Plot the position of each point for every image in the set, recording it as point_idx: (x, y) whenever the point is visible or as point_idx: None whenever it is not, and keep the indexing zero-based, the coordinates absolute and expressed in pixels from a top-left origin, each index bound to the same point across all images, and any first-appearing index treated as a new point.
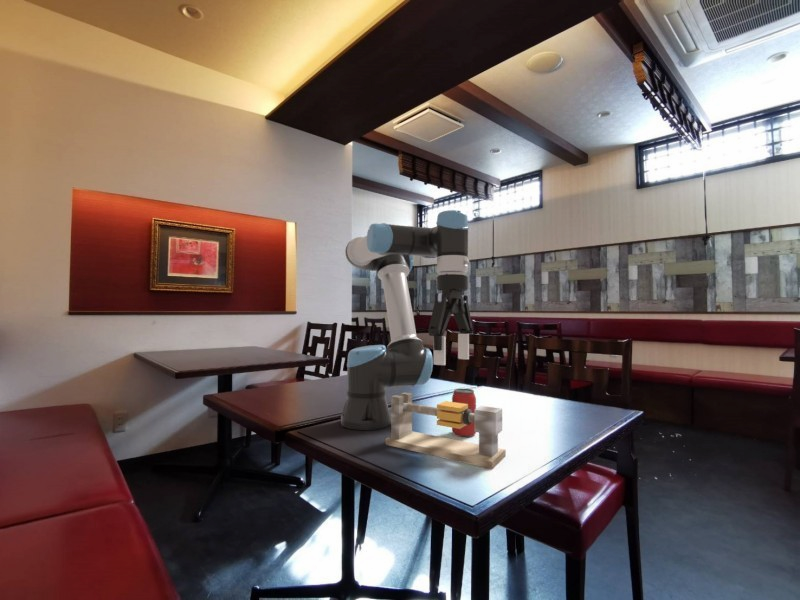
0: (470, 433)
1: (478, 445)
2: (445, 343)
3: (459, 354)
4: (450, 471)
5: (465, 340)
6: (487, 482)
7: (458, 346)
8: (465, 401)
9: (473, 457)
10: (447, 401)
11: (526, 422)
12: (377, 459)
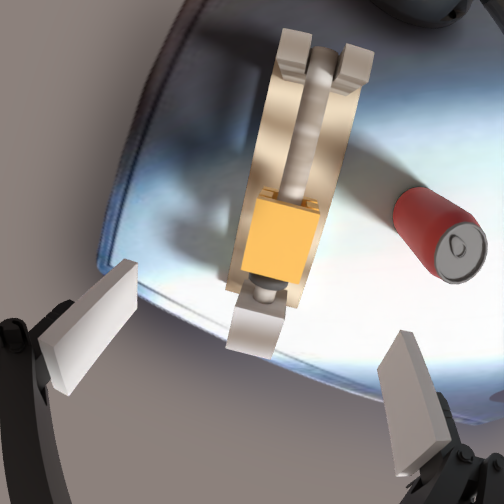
0: (398, 233)
1: (306, 261)
2: (86, 369)
3: (402, 351)
4: (189, 220)
5: (398, 436)
6: (175, 278)
7: (415, 377)
8: (420, 253)
9: (233, 258)
10: (315, 221)
11: (492, 324)
12: (189, 75)
